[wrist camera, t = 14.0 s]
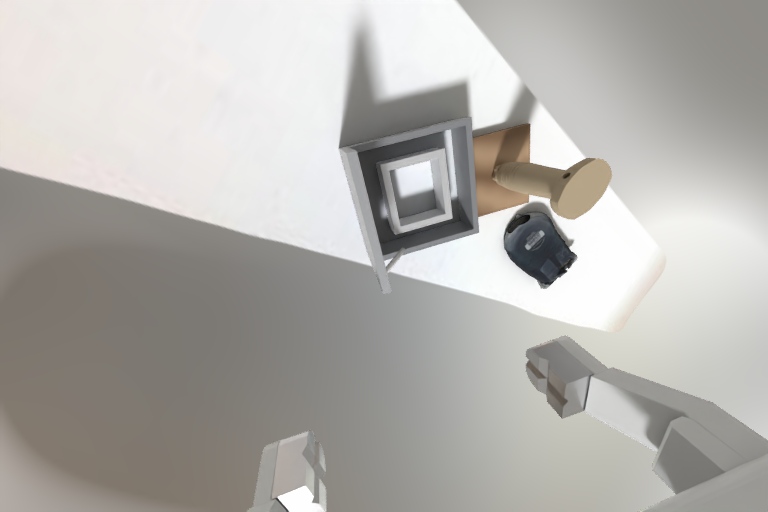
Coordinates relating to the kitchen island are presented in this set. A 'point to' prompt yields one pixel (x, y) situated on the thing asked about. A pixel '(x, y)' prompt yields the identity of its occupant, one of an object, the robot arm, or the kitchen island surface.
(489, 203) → the walnut pad
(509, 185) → the handle
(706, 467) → the robot arm
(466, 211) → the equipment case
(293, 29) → the kitchen island surface
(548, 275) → the electronic device
